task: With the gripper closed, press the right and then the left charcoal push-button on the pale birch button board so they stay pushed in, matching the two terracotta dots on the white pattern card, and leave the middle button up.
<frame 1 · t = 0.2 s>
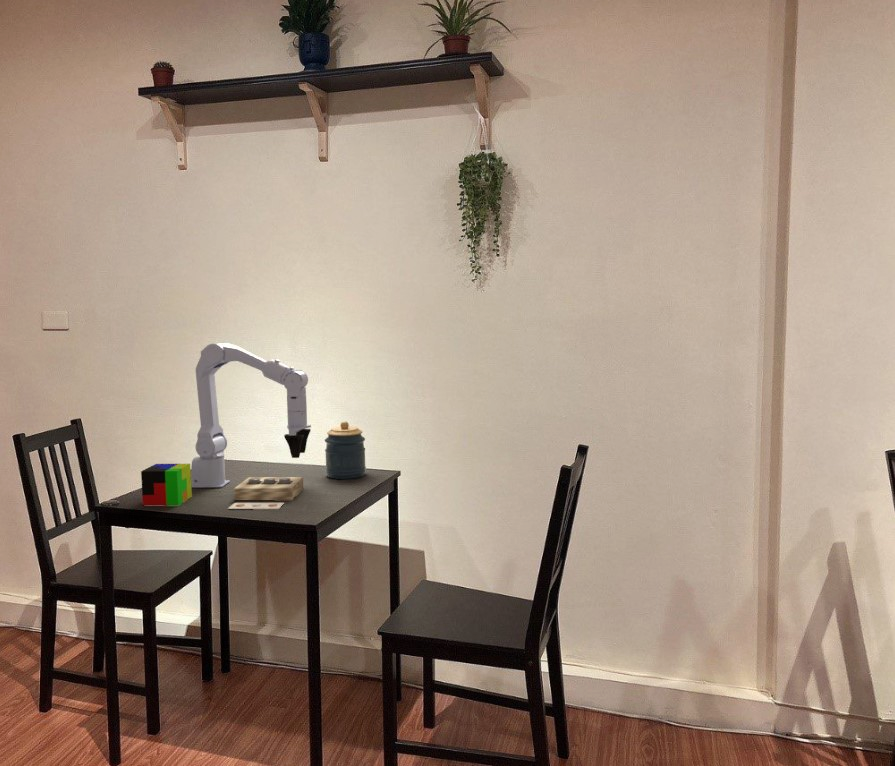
hand: (298, 455, 230), 10 cm above the table, tool pointing down, fingers open, 7 cm apart
left button: (254, 482, 221), point 3 cm above the table, slide at 0.0 cm
puzzle toy: (168, 502, 215), on the table
middle button: (269, 482, 221), point 3 cm above the table, slide at 0.0 cm
button board: (270, 494, 221), on the table
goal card: (256, 506, 208), on the table
right button: (284, 482, 221), point 4 cm above the table, slide at 0.0 cm
canister: (345, 475, 246), on the table
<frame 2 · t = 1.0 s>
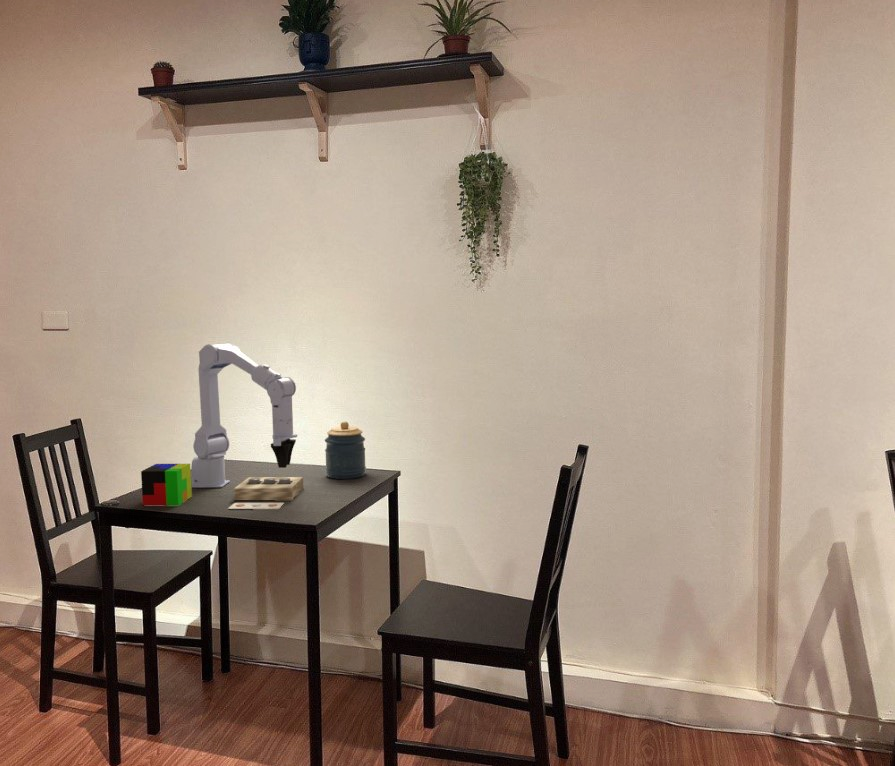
hand: (284, 466, 220), 8 cm above the table, tool pointing down, fingers open, 3 cm apart
nothing on the table moved.
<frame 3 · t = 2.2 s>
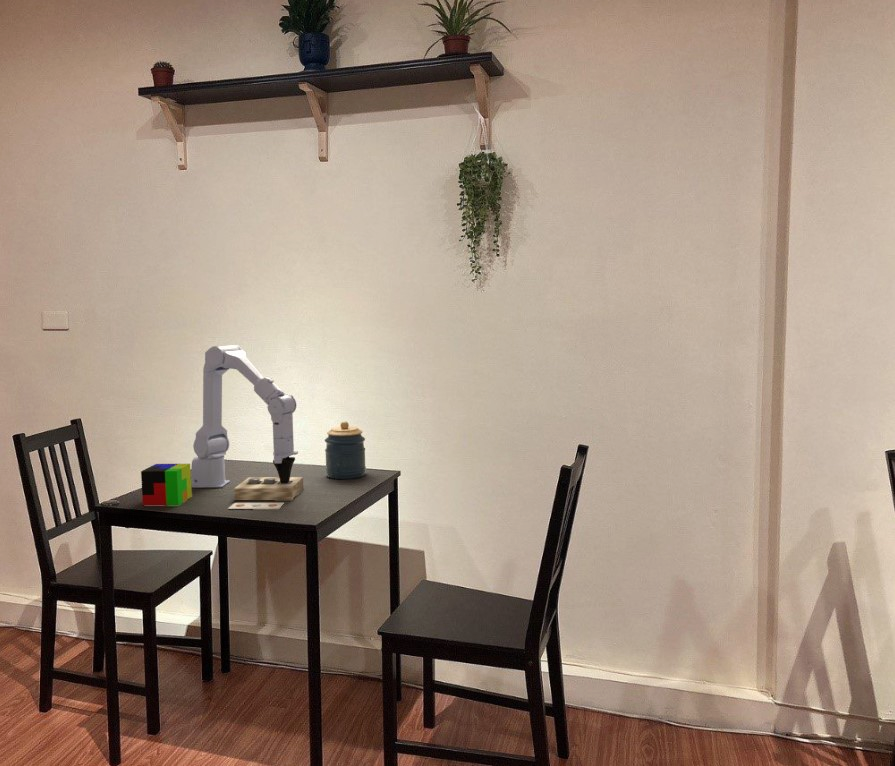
hand: (284, 482, 221), 3 cm above the table, tool pointing down, fingers closed, pressing on right button
right button: (284, 486, 221), point 2 cm above the table, slide at 1.1 cm, touching gripper
everything else where it was.
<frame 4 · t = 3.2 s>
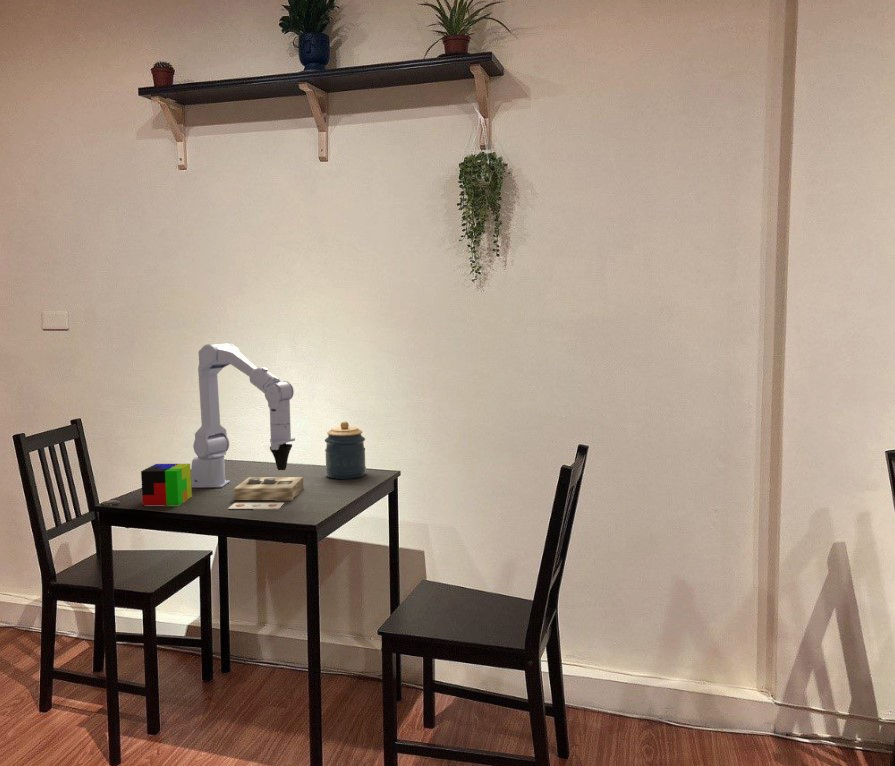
hand: (281, 469, 221), 7 cm above the table, tool pointing down, fingers closed
right button: (284, 486, 221), point 2 cm above the table, slide at 1.2 cm
everything else where it was.
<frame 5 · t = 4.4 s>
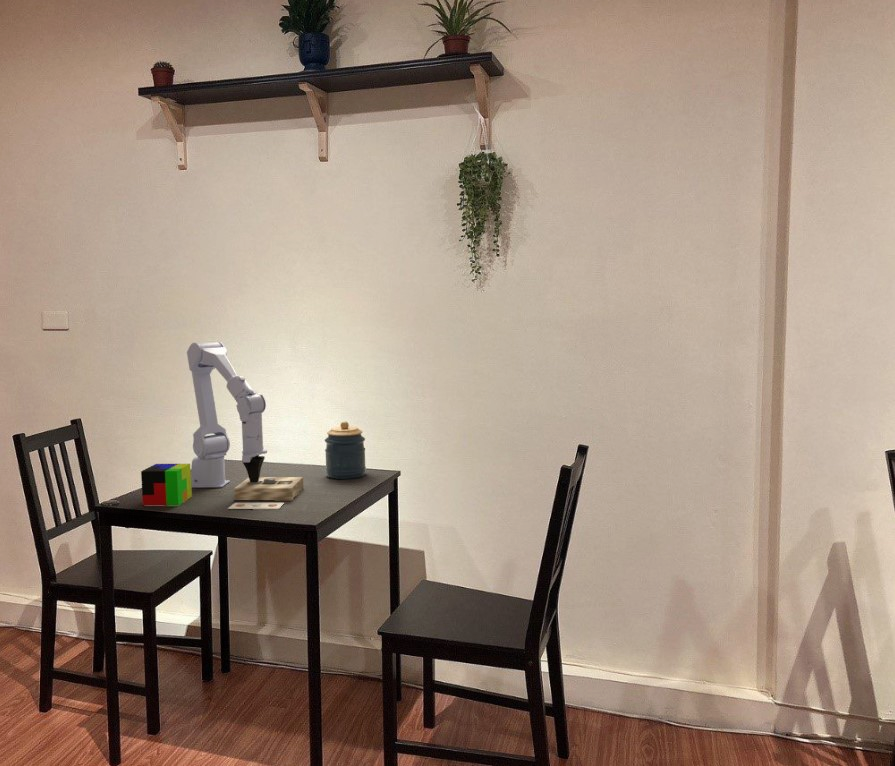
hand: (254, 481, 221), 4 cm above the table, tool pointing down, fingers closed, pressing on left button
left button: (254, 485, 221), point 3 cm above the table, slide at 0.7 cm, touching gripper
everything else where it was.
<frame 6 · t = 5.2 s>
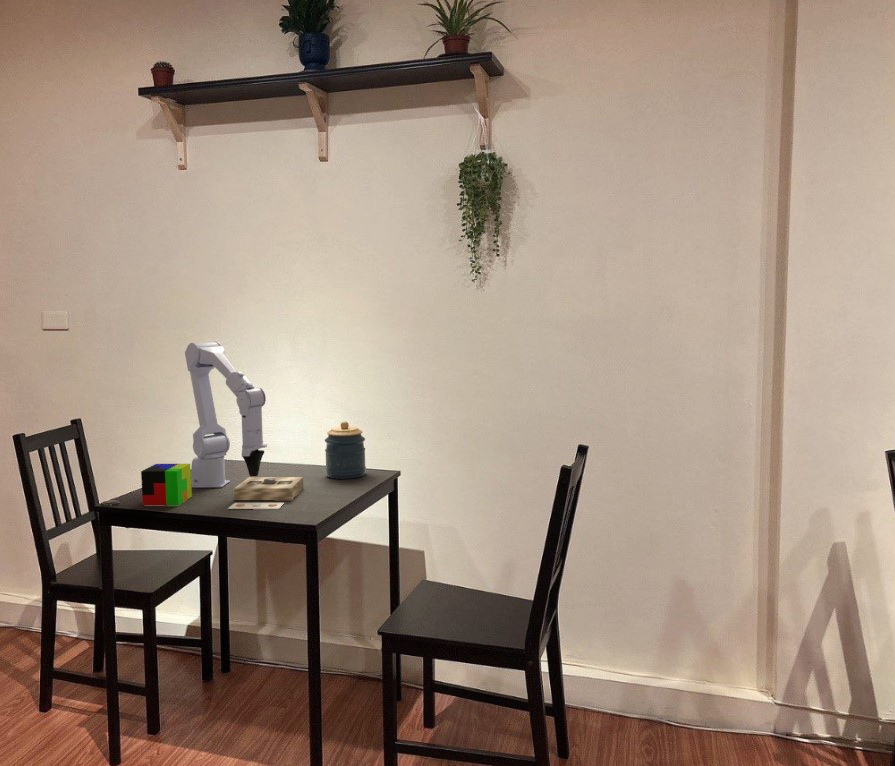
hand: (253, 475, 221), 6 cm above the table, tool pointing down, fingers closed
left button: (254, 486, 221), point 2 cm above the table, slide at 1.2 cm
everything else where it was.
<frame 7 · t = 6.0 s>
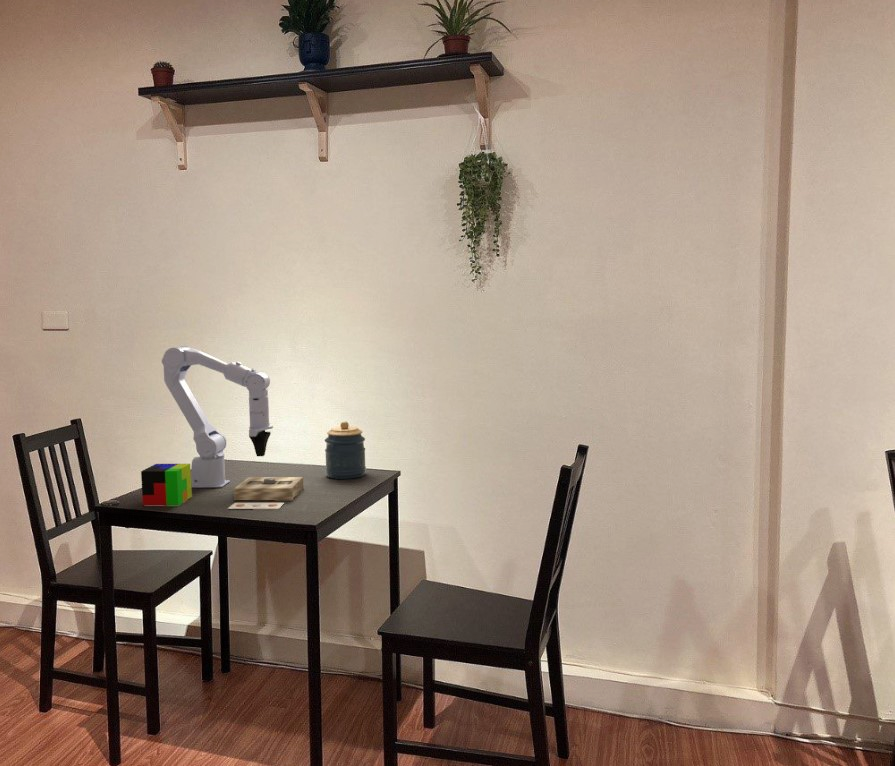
hand: (260, 455, 232), 9 cm above the table, tool pointing down, fingers closed
nothing on the table moved.
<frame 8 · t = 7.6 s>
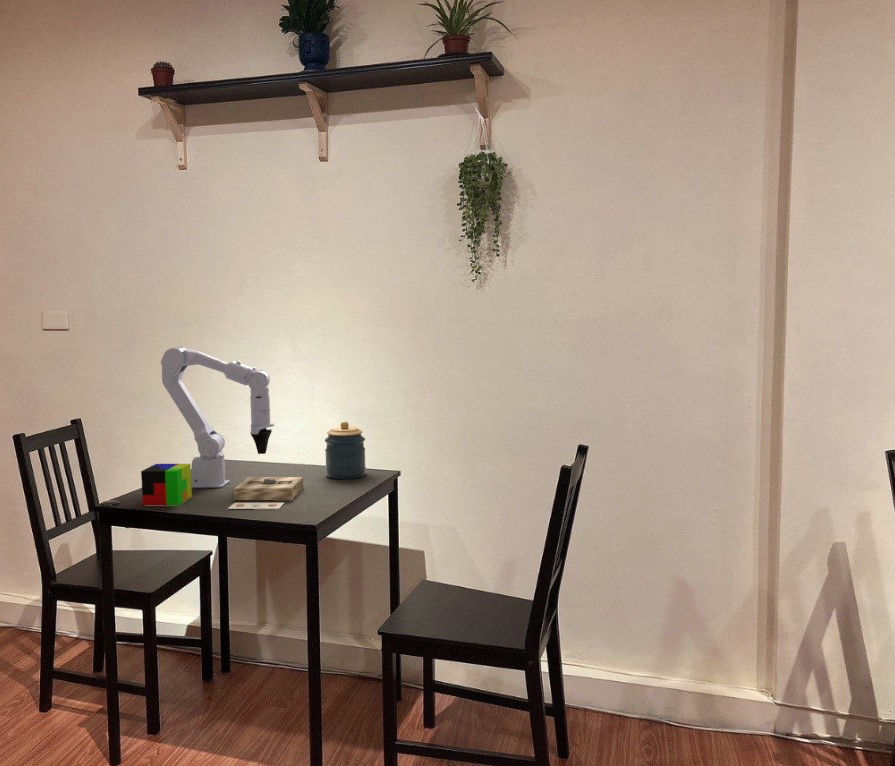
hand: (262, 453, 235), 9 cm above the table, tool pointing down, fingers closed
nothing on the table moved.
at the end: right button slide at 1.2 cm; left button slide at 1.2 cm; middle button slide at 0.0 cm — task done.
